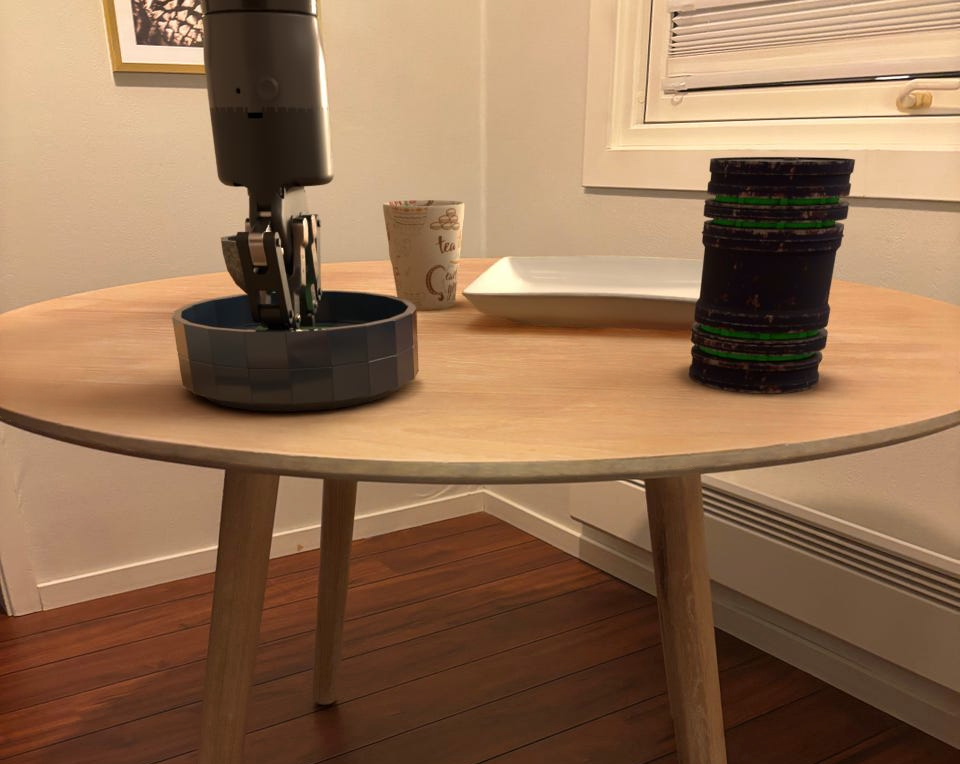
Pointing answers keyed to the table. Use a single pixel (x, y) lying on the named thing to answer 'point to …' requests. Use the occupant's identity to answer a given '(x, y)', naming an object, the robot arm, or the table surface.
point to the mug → (425, 250)
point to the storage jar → (768, 271)
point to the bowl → (298, 352)
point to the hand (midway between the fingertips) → (295, 373)
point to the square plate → (591, 291)
